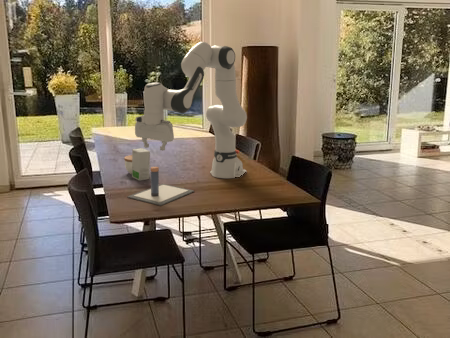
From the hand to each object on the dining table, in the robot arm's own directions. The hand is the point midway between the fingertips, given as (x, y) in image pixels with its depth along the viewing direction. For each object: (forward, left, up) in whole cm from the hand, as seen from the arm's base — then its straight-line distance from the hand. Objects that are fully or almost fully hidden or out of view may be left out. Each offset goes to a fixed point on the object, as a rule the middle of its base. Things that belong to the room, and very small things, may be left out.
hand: (154, 148), depth 215 cm
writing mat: (-5, 0, -23) cm, 24 cm away
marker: (0, 0, -22) cm, 22 cm away
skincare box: (-21, -27, -24) cm, 42 cm away
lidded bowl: (-27, -36, -24) cm, 51 cm away
